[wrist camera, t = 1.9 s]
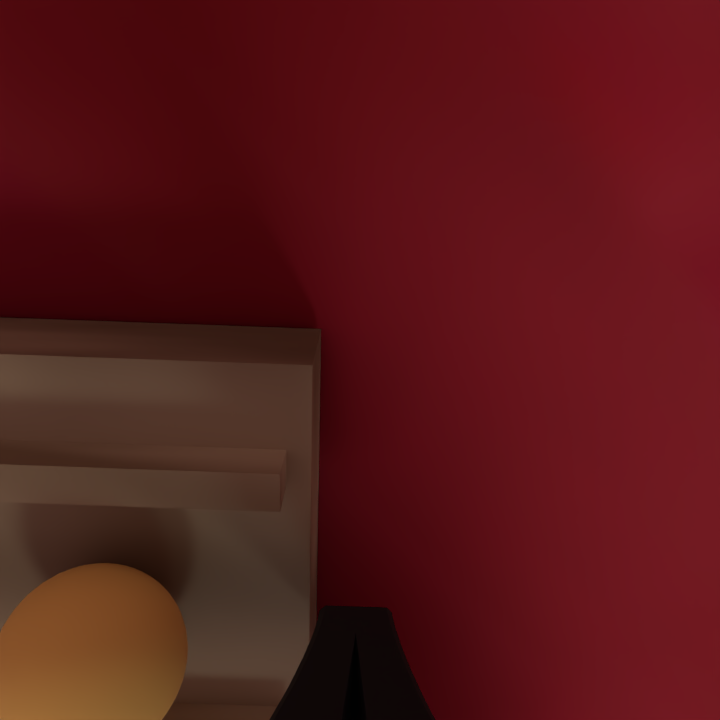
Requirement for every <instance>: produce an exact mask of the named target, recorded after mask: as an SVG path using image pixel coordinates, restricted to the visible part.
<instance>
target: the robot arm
mask: <svg viewBox="0 0 720 720" xmlns="http://www.w3.org/2000/svg"><path fill="white" fill-rule="evenodd" d="M269 720H435V718H434V716H433V715H432V713H431V711H430V709H429V707H428V705H427V703H426V701H425V699H424V697H423V695H422V693H421V691H420V689H419V686H418V684H417V682H416V680H415V678H414V676H413V674H412V671H411V669H410V667H409V664H408V662H407V659H406V657H405V654H404V652H403V649H402V646H401V644H400V641H399V638H398V635H397V632H396V629H395V625H394V621H393V617H392V613H391V612H390V611H389V610H388V609H387V608H381V607H352V606H325V607H323V608H322V609H321V610H320V612H319V616H318V620H317V623H316V626H315V629H314V632H313V635H312V637H311V640H310V642H309V645H308V647H307V649H306V652H305V654H304V656H303V658H302V660H301V662H300V664H299V667H298V669H297V671H296V673H295V675H294V677H293V679H292V681H291V683H290V685H289V686H288V688H287V690H286V692H285V694H284V695H283V697H282V699H281V701H280V702H279V704H278V706H277V707H276V709H275V711H274V713H273V714H272V716H271V718H270V719H269Z"/></svg>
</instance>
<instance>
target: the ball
mask: <svg viewBox="0 0 720 720" xmlns="http://www.w3.org/2000/svg"><path fill="white" fill-rule="evenodd" d="M187 655H188V641H187V633H186V627H185V624H184V620H183V617H182V614H181V612H180V610H179V607H178V605H177V604H176V602H175V601H174V599H173V598H172V596H171V595H170V593H169V592H168V591H167V590H166V589H165V587H163V586H162V585H161V584H160V583H159V582H158V581H157V580H155V579H154V578H152V577H151V576H149V575H148V574H146V573H144V572H142V571H140V570H137V569H135V568H132V567H129V566H126V565H121V564H114V563H96V564H88V565H82V566H78V567H75V568H72V569H69V570H66V571H64V572H61V573H59V574H57V575H55V576H53V577H52V578H50V579H48V580H47V581H45V582H43V583H42V584H40V585H39V586H38V587H37V588H35V589H34V590H33V591H32V592H30V593H29V594H28V595H27V596H26V597H25V598H24V599H23V600H22V601H21V602H20V603H19V605H18V606H17V607H16V608H15V609H14V610H13V612H12V613H11V615H10V616H9V618H8V619H7V621H6V622H5V624H4V626H3V627H2V629H1V632H0V720H162V719H163V718H164V716H165V715H166V714H167V712H168V710H169V709H170V707H171V706H172V704H173V702H174V700H175V699H176V696H177V694H178V692H179V689H180V687H181V684H182V681H183V678H184V674H185V670H186V664H187Z"/></svg>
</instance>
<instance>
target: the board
mask: <svg viewBox="0 0 720 720" xmlns="http://www.w3.org/2000/svg"><path fill="white" fill-rule="evenodd" d="M320 368H321V329H307V328H280V327H252V326H225V325H197V324H169V323H142V322H114V321H87V320H59V319H32V318H4V317H0V632H1V629H2V627H3V626H4V624H5V622H6V621H7V619H8V618H9V616H10V615H11V613H12V612H13V610H14V609H15V608H16V607H17V606H18V605H19V603H20V602H21V601H22V600H23V599H24V598H25V597H26V596H27V595H28V594H29V593H30V592H32V591H33V590H34V589H35V588H37V587H38V586H39V585H40V584H42V583H43V582H45V581H47V580H48V579H50V578H52V577H53V576H55V575H57V574H59V573H61V572H64V571H66V570H69V569H72V568H75V567H78V566H82V565H88V564H96V563H114V564H121V565H126V566H129V567H132V568H135V569H137V570H140V571H142V572H144V573H146V574H148V575H149V576H151V577H152V578H154V579H155V580H157V581H158V582H159V583H160V584H161V585H162V586H163V587H165V589H166V590H167V591H168V592H169V593H170V595H171V596H172V598H173V599H174V601H175V602H176V604H177V605H178V607H179V610H180V612H181V614H182V617H183V620H184V624H185V627H186V633H187V641H188V655H187V664H186V670H185V674H184V678H183V681H182V684H181V687H180V689H179V692H178V694H177V696H176V699H175V700H174V702H173V704H172V706H171V707H170V709H169V710H168V712H167V714H166V715H165V716H164V718H163V719H162V720H269V719H270V718H271V716H272V714H273V713H274V711H275V709H276V707H277V706H278V704H279V702H280V701H281V699H282V697H283V695H284V694H285V692H286V690H287V688H288V686H289V685H290V683H291V681H292V679H293V677H294V675H295V673H296V671H297V669H298V667H299V664H300V662H301V660H302V658H303V656H304V654H305V652H306V649H307V647H308V645H309V642H310V640H311V637H312V635H313V632H314V629H315V626H316V611H317V550H318V490H319V429H320Z"/></svg>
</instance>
